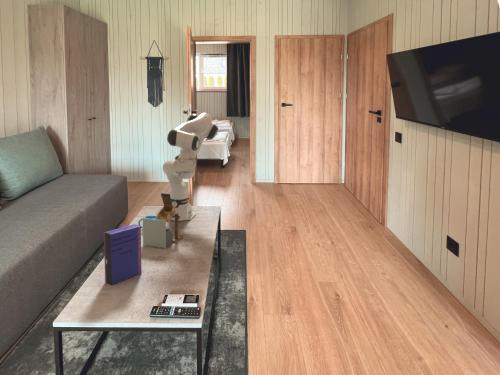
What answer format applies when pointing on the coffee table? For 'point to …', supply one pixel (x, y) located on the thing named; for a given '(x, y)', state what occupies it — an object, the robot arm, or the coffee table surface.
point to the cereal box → (122, 254)
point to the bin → (156, 233)
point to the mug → (148, 218)
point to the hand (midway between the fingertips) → (179, 179)
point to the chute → (166, 209)
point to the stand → (176, 229)
